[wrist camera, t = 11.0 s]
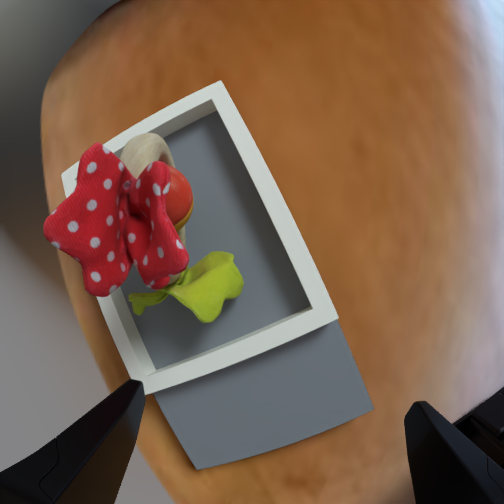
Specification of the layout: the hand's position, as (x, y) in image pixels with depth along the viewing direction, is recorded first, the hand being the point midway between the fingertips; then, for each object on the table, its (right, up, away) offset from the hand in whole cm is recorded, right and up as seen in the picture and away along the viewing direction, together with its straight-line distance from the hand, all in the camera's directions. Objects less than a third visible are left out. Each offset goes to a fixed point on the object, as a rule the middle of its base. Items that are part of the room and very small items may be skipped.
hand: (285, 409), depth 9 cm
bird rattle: (-5, +6, +9) cm, 12 cm away
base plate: (-4, +3, +11) cm, 12 cm away
